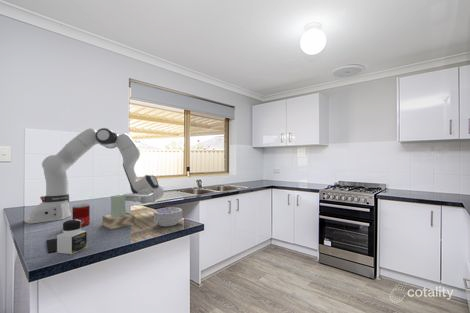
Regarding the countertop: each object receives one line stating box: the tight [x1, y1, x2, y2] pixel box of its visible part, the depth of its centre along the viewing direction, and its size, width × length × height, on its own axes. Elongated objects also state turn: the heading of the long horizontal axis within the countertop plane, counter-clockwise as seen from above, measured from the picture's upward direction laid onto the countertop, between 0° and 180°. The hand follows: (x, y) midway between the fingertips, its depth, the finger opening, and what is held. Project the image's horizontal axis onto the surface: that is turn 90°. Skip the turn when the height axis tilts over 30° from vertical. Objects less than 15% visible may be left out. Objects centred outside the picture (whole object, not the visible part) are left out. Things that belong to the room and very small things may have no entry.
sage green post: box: [110, 194, 126, 217], centre depth 131 cm, size 5×5×11 cm
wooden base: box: [102, 211, 135, 230], centre depth 131 cm, size 12×12×5 cm
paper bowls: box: [153, 206, 183, 227], centre depth 132 cm, size 15×15×8 cm
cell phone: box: [46, 237, 57, 254], centre depth 102 cm, size 9×18×1 cm, turn 40°
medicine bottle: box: [56, 219, 88, 255], centre depth 95 cm, size 7×7×12 cm
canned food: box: [71, 203, 91, 228], centre depth 131 cm, size 8×8×11 cm
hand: (127, 199), depth 137 cm, fingers open, 8 cm apart
